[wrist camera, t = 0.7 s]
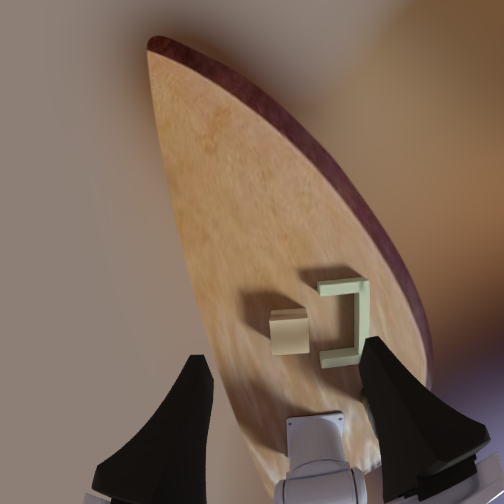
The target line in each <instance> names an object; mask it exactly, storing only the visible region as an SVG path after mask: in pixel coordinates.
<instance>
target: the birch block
mask: <svg viewBox="0 0 504 504" xmlns="http://www.w3.org/2000/svg"><path fill="white" fill-rule="evenodd" d="M269 323H270V335H271V347H272V355H287V354H300V353H309V328H308V316H307V312H306V308H296V309H284V310H271V314H270V320H269Z"/></svg>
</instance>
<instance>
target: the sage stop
mask: <svg viewBox="0 0 504 504" xmlns="http://www.w3.org/2000/svg"><path fill="white" fill-rule="evenodd" d="M317 292H318V294H319V295H320V297H321V296H331V295H340V294H349V293H354V347H351V348H344V349H335V350H327V351H319V360H320V364H321V368H322V369H323V368H332V367H340V366H347V365H354V364H359V362H360V358H361V355H362V351H363V347H364V343H365V338H369V315H370V290H369V280H368V279H366V278H364V277H357V278H347V279H337V280H327V281H317Z"/></svg>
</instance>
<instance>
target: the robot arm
mask: <svg viewBox="0 0 504 504" xmlns="http://www.w3.org/2000/svg"><path fill="white" fill-rule="evenodd" d="M359 370H360V375H361V380H362V384H363V388H364V391H365V394H366V397H367V400H368V403H369V406H370V409H371V412H372V415H373V418H374V421H375V425H376V429H377V434H378V440H379V446H380V454H381V463H382V475H383V500H384V504H385V503H388V502H391V501H394V500H397V499H400V498H403V497H404V498H405V499H404V500H401V501H398V502H395V503H393V504H488V503H489V502H490V501H492V500H493V499H494V498H496V497H497V496H499V495H500V494H501V493H502V492H504V471H503V468H502V465H501V461H500V459H499V455H498V453H497V452H494V453H493V454H491V455H490V456H488V457H487V458H485V459H484V460H482V461H480V462H479V463H477V464H476V465H475V463H474V461H475V460H476V454H475V453H477V452H478V451H479V450H480V449H482V448H483V447H485V446H486V445H487V444H488V443H489V442H490V440H491V439H490V436H489V433H488V431H487V429H486V427H485V425H483V424H481V423H479V422H476V421H474V420H472V419H470V418H468V417H466V416H464V415H463V414H461V413H459V412H457V411H456V410H455V409H453V408H452V407H450V406H449V405H447V404H445V403H444V402H443V401H441V400H440V399H439V398H437V397H436V396H435V395H434V394H433V393H431V392H430V391H429V390H428V389H427V388H426V387H424V386H423V385H422V384H421V383H420V382H419V381H418V380H417V379H416V378H415V377H414V376H413V375H412V374H411V373H410V372H409V371H408V370H407V369H406V368H405V366H404V365H403V364H402V363H401V362H400V361H399V360H398V359H397V358H396V356H395V355H394V354H393V353H392V352H391V351H390V349H389V348H388V347H387V346H386V345H385V343H384V342H383V341H382V340H381V339H380V337H378V336H375V337H370V338H365V343H364V347H363V351H362V355H361V358H360V362H359ZM213 385H214V379H213V377H212V375H211V372H210V369H209V367H208V364H207V362H206V359H205V357H204V355H190V356H189V358H188V360H187V362H186V364H185V366H184V367H183V369H182V371H181V373H180V375H179V376H178V378H177V380H176V382H175V383H174V385H173V386H172V388H171V390H170V391H169V393H168V395H167V396H166V398H165V399H164V401H163V402H162V403H161V405H160V406H159V408H158V409H157V411H156V412H155V413H154V414H153V416H152V417H151V418H150V420H149V421H148V422H147V423H146V424H145V425H144V426H143V427H142V429H141V430H140V431H139V432H138V433H137V434H136V435H135V436H134V437H133V438H132V439H131V440H130V441H129V442H128V443H126V444H125V445H124V446H123V447H122V448H121V449H120V450H118V451H117V452H116V453H115V454H113V455H112V456H111V457H109V458H108V459H106V460H105V461H104V462H102V463H101V464H99V465H98V466H97V468H96V471H95V475H94V479H93V483H92V489H93V490H95V491H97V492H99V493H101V494H104V495H106V496H108V497H111V498H112V499H111V502H109V501H107V500H104V499H101V498H98V497H96V496H93V495H91V494H88V493H85V496H84V501H83V504H207V501H206V480H205V479H206V475H205V474H206V472H205V471H206V468H205V466H206V443H207V435H208V429H209V423H210V416H211V410H212V404H213V389H214V386H213ZM339 418H341V419H339ZM343 421H344V414H343V413H334V414H325V415H316V416H305V417H292V418H287V421H286V422H287V445H288V460H290V472H287V473H286V480H280V481H279V482H278V483H277V484H276V486H275V490H274V504H367V492H366V485H365V480H364V476H363V473H362V471H361V470H360V469H358V468H357V467H353V468H351V470H350V465H349V462H347V461H346V457H345V452H344V448H343V443H342V431H343ZM289 423H291V424H289Z"/></svg>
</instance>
